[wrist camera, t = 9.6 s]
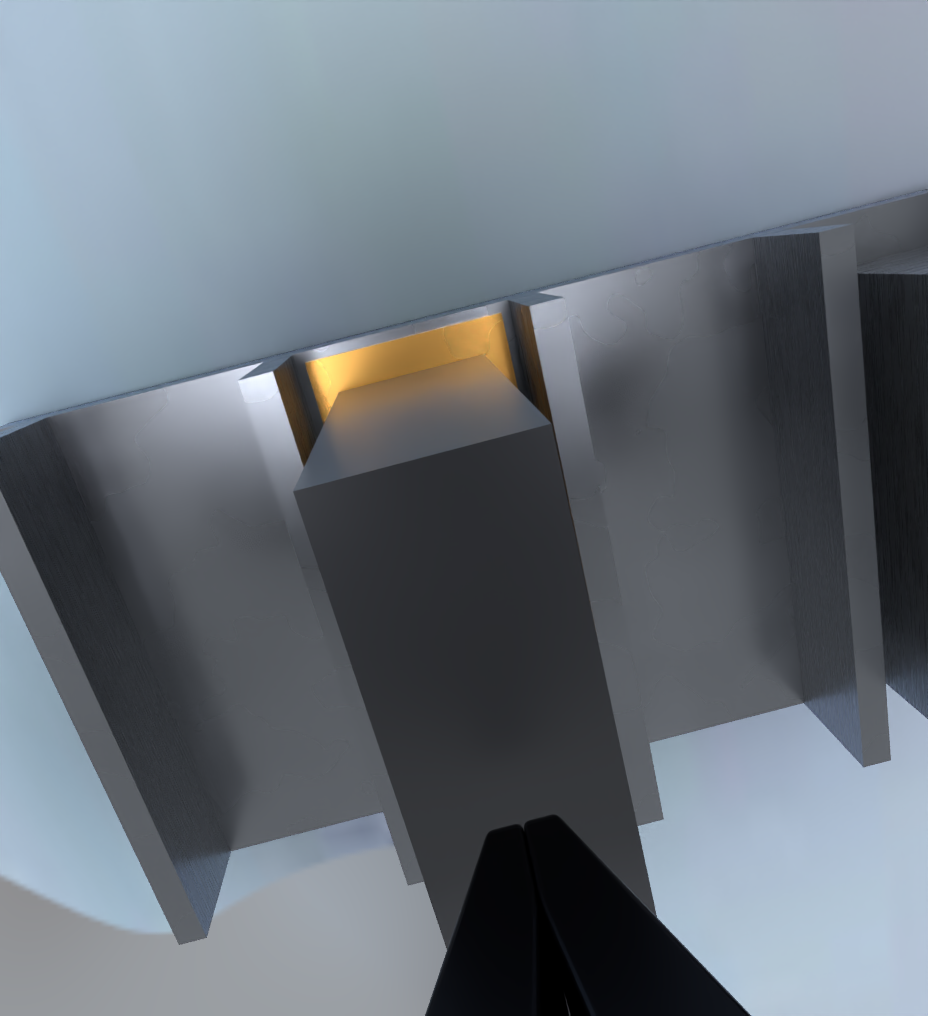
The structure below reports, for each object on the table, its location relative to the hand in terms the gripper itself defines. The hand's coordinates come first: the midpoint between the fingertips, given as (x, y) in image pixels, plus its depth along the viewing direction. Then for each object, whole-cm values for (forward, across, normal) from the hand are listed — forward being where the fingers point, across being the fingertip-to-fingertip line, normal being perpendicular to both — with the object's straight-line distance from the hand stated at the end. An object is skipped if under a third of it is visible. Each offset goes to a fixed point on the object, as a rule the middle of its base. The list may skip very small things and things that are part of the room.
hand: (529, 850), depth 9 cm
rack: (+9, -2, 0) cm, 10 cm away
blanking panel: (+8, 0, 0) cm, 8 cm away
